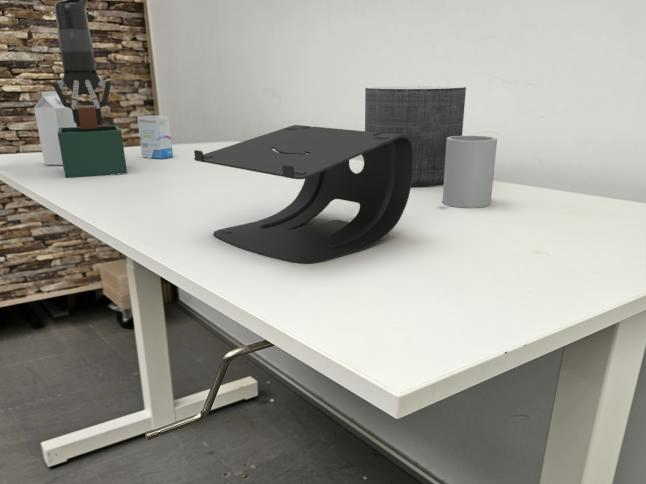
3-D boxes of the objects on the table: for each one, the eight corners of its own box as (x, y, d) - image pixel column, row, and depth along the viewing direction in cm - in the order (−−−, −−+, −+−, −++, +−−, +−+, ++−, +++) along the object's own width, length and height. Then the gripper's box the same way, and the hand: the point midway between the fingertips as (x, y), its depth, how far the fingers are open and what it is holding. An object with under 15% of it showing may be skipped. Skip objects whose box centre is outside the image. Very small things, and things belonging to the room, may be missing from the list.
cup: (447, 207, 113) (451, 141, 108) (439, 198, 121) (443, 135, 117) (495, 207, 113) (502, 140, 108) (484, 197, 121) (490, 135, 117)
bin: (65, 177, 148) (57, 133, 144) (66, 169, 161) (58, 127, 157) (127, 173, 153) (121, 130, 149) (123, 165, 166) (117, 125, 161)
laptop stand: (415, 236, 95) (420, 133, 88) (301, 270, 80) (299, 148, 74) (306, 211, 112) (304, 123, 106) (196, 234, 97) (187, 134, 91)
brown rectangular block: (80, 129, 148) (77, 108, 146) (80, 126, 156) (77, 105, 154) (98, 128, 149) (94, 107, 147) (96, 125, 158) (93, 105, 156)
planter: (416, 168, 156) (420, 84, 148) (479, 180, 139) (487, 86, 131) (345, 176, 145) (346, 87, 137) (404, 191, 128) (408, 89, 120)
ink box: (174, 157, 180) (169, 115, 175) (162, 159, 176) (157, 116, 171) (153, 155, 184) (148, 114, 179) (141, 157, 180) (135, 115, 175)
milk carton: (44, 165, 168) (30, 91, 160) (62, 161, 174) (49, 90, 166) (65, 166, 166) (52, 92, 158) (82, 162, 172) (70, 90, 164)
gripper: (107, 50, 151) (117, 122, 158) (45, 50, 147) (58, 124, 153) (108, 49, 145) (119, 124, 152) (44, 49, 140) (57, 127, 147)
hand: (88, 124), depth 152 cm, fingers closed on brown rectangular block, 4 cm apart
